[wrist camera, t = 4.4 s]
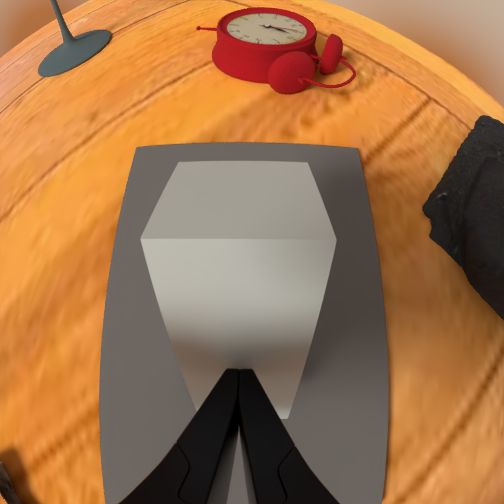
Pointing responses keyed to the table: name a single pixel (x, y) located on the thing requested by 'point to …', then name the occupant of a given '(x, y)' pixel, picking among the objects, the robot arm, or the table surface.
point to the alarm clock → (274, 49)
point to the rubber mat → (318, 360)
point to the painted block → (240, 271)
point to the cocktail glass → (72, 48)
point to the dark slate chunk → (474, 210)
